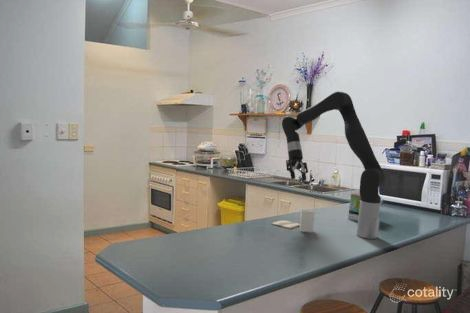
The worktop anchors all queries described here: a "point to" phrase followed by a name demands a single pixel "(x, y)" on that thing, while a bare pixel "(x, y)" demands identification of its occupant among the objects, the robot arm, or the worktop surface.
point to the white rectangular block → (306, 220)
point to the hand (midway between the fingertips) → (298, 179)
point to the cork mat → (286, 224)
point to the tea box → (354, 206)
